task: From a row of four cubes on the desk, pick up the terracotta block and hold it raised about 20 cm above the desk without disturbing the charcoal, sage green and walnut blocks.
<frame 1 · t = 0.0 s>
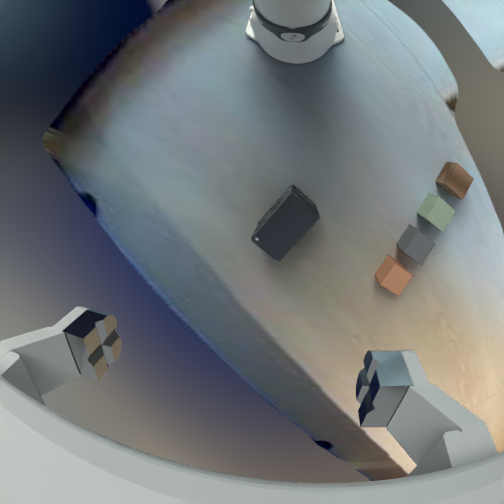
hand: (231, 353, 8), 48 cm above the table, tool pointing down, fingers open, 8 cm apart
sage block: (430, 209, 50), on the table
terracotta block: (390, 270, 55), on the table
small box: (287, 214, 55), on the table
charcoal block: (411, 240, 52), on the table
walnut block: (448, 178, 47), on the table
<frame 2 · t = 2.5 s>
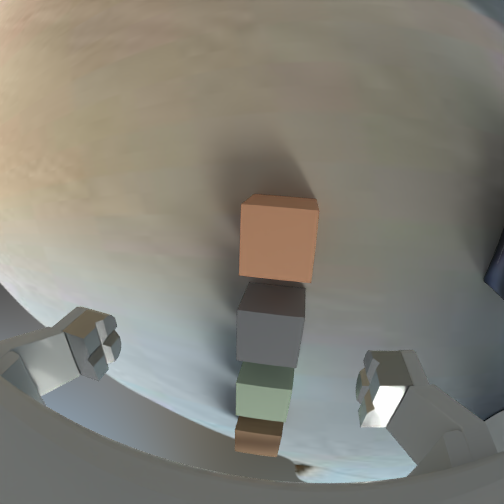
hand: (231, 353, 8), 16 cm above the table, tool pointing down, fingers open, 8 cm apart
sage block: (269, 370, 29), on the table
terracotta block: (283, 226, 24), on the table
charcoal block: (275, 309, 26), on the table
walnut block: (263, 413, 31), on the table
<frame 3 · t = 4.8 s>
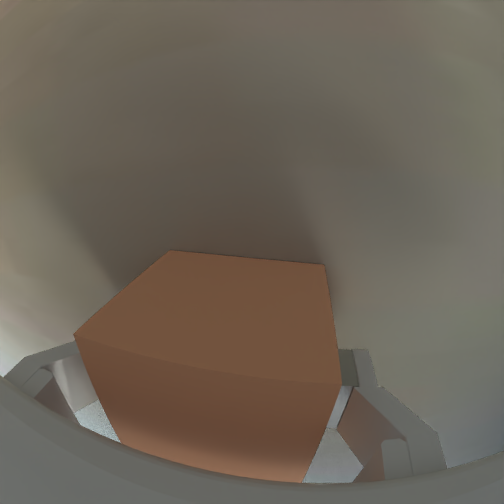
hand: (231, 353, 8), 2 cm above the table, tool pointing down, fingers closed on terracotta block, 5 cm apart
terracotta block: (241, 324, 10), on the table, touching gripper
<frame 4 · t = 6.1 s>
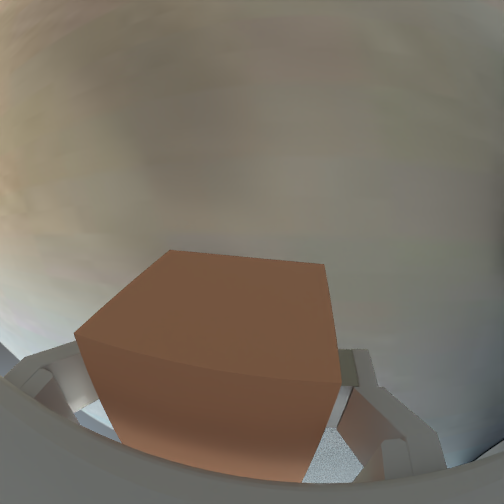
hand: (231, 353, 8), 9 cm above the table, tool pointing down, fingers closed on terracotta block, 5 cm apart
terracotta block: (241, 323, 10), point 7 cm above the table, touching gripper
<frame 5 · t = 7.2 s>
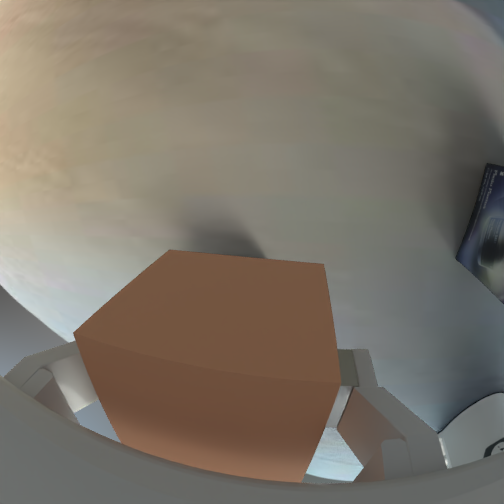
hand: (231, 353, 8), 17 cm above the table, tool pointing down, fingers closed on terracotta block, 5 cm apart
terracotta block: (241, 323, 10), point 16 cm above the table, touching gripper
small box: (489, 219, 21), on the table
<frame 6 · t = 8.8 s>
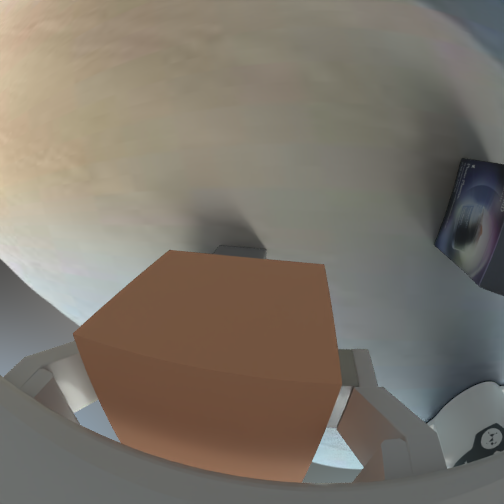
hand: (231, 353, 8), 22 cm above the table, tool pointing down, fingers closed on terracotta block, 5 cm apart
terracotta block: (241, 324, 10), point 20 cm above the table, touching gripper
small box: (466, 209, 25), on the table
charcoal block: (242, 268, 31), on the table
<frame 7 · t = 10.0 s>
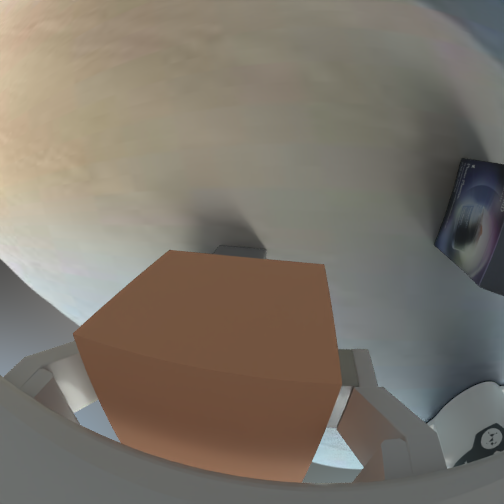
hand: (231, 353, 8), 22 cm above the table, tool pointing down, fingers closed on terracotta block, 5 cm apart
terracotta block: (241, 324, 10), point 20 cm above the table, touching gripper
small box: (466, 209, 25), on the table
charcoal block: (242, 268, 31), on the table
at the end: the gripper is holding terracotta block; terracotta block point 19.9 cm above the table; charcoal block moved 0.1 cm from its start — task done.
